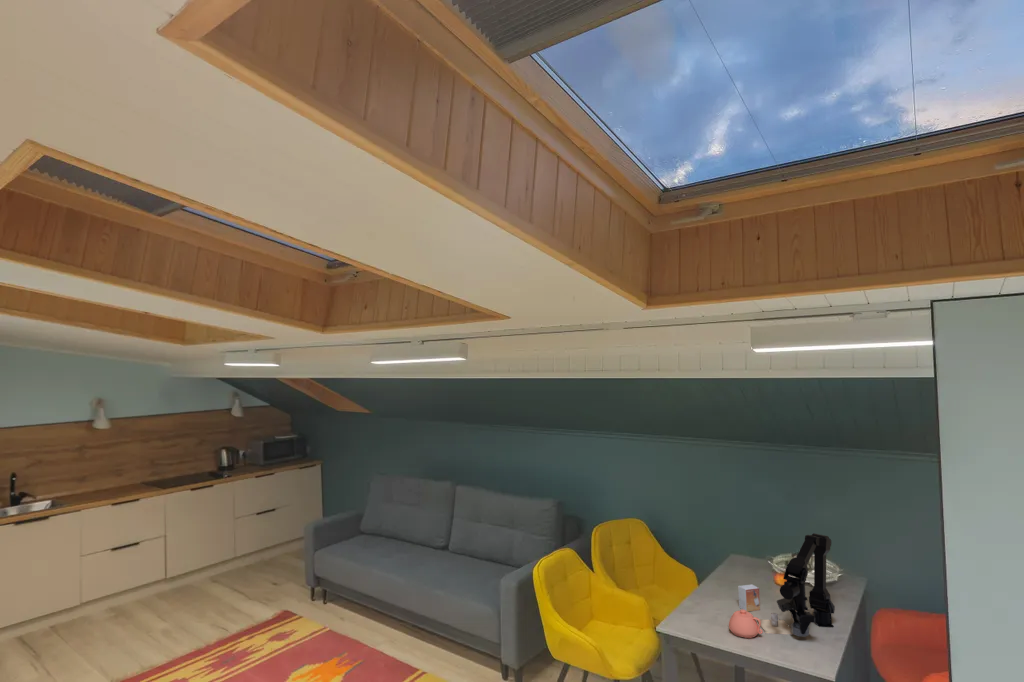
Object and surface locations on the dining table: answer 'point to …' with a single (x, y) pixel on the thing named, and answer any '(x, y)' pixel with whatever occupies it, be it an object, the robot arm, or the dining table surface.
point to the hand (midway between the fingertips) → (799, 630)
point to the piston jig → (775, 625)
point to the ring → (798, 629)
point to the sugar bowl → (744, 624)
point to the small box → (749, 597)
